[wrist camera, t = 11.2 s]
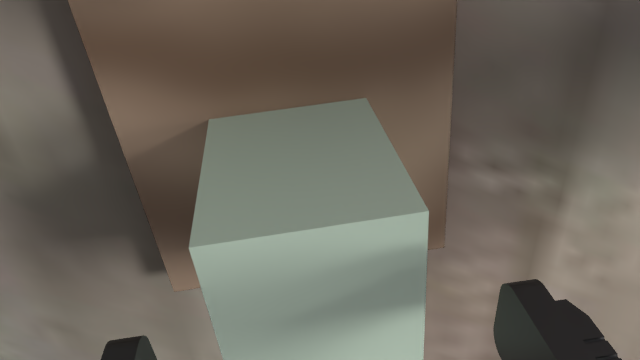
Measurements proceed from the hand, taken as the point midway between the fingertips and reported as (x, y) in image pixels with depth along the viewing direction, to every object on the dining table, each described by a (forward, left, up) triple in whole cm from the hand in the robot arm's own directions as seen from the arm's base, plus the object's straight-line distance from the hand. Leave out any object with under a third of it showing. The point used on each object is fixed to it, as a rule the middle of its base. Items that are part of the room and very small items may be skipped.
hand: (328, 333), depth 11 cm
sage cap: (+1, 0, -8) cm, 8 cm away
